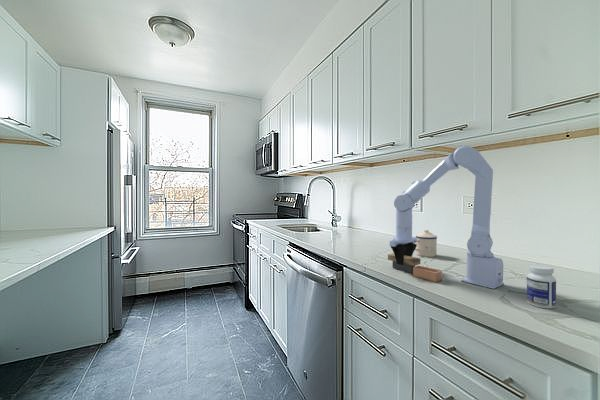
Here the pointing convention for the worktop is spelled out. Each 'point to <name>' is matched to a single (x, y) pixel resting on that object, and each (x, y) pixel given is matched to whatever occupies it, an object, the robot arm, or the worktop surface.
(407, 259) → the walnut sheet
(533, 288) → the pill bottle
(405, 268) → the rubber mat block
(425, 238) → the teacup with lid
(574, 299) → the worktop surface
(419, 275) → the tan rectangular block
